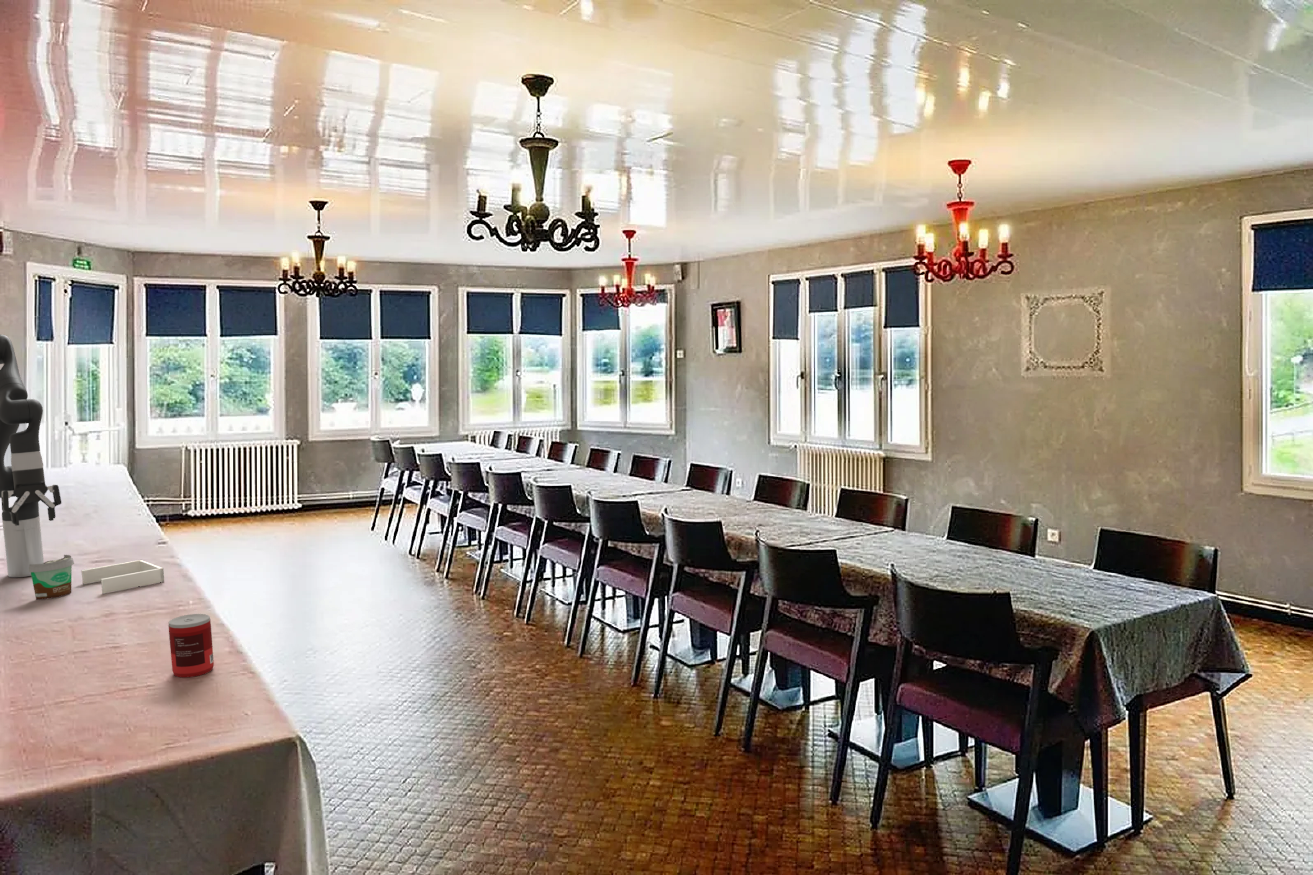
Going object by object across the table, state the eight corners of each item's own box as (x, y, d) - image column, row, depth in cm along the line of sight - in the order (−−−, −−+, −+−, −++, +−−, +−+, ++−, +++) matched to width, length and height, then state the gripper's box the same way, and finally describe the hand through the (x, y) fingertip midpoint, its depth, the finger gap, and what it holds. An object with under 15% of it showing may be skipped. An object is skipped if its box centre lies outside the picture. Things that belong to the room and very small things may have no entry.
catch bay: (82, 583, 263) (81, 570, 263) (142, 572, 275) (141, 559, 274) (103, 593, 251) (101, 579, 251) (164, 581, 263) (163, 568, 262)
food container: (50, 601, 245) (46, 565, 244) (31, 601, 246) (27, 564, 245) (87, 589, 257) (84, 554, 256) (69, 588, 258) (65, 554, 257)
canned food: (201, 662, 193) (197, 611, 191) (222, 669, 188) (218, 617, 187) (164, 673, 186) (160, 621, 185) (185, 680, 182) (181, 627, 181)
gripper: (52, 465, 273) (58, 518, 274) (-5, 470, 263) (1, 526, 264) (59, 465, 268) (65, 519, 269) (1, 471, 258) (8, 527, 259)
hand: (34, 523), depth 266 cm, fingers open, 8 cm apart
